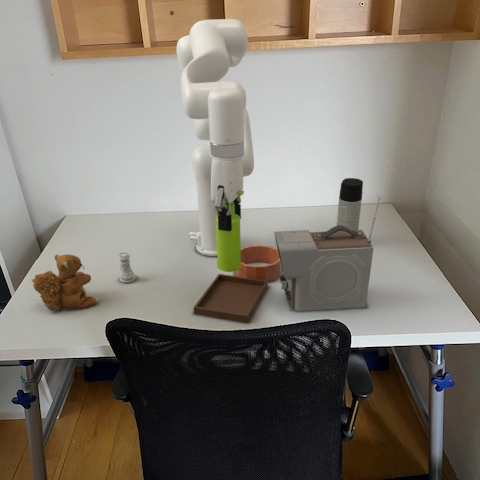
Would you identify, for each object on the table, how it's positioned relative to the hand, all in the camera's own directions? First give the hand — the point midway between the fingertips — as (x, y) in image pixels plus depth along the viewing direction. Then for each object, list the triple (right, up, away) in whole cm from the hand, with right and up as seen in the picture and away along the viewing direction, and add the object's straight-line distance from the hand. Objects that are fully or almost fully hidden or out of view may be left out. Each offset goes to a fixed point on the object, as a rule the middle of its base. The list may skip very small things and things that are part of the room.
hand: (229, 224), depth 129 cm
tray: (0, -18, +12) cm, 21 cm away
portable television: (+23, -18, +11) cm, 32 cm away
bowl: (+8, -9, +25) cm, 27 cm away
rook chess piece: (-29, -12, +22) cm, 39 cm away
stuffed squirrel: (-43, -19, +12) cm, 48 cm away
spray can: (+36, +1, +39) cm, 53 cm away
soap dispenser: (0, -10, +6) cm, 12 cm away
